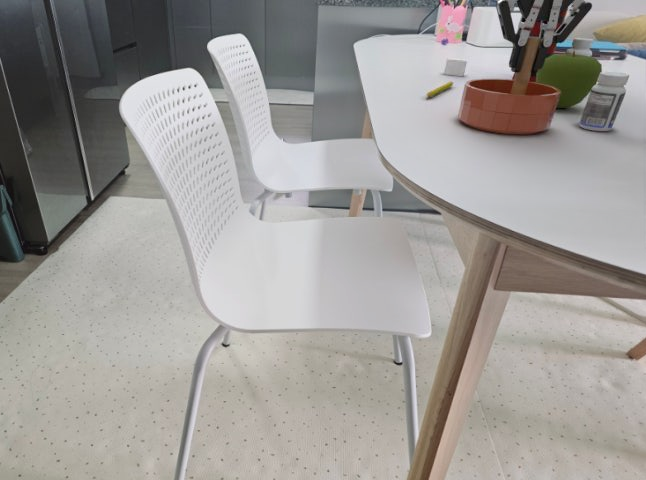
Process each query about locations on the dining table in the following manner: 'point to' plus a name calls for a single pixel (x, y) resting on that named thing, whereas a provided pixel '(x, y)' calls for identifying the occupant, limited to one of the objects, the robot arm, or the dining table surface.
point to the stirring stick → (526, 66)
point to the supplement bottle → (581, 47)
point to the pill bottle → (604, 101)
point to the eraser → (455, 67)
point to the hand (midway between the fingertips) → (524, 71)
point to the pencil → (439, 89)
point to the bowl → (508, 106)
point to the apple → (570, 76)
